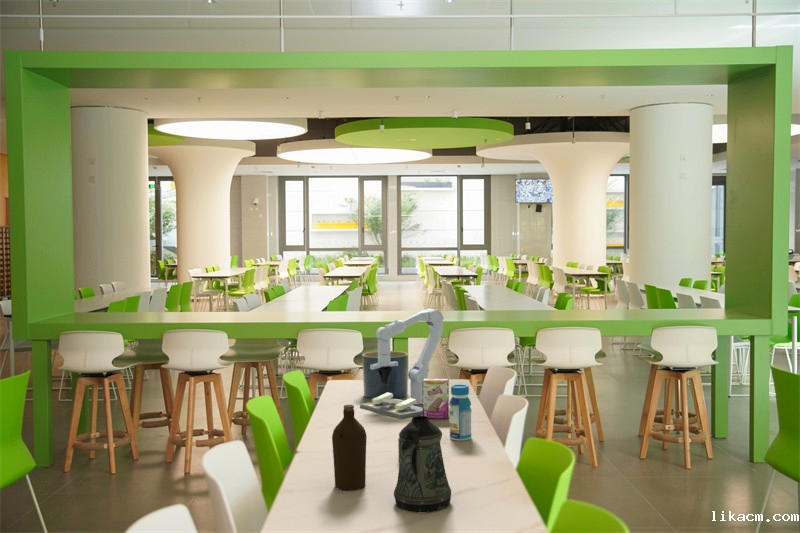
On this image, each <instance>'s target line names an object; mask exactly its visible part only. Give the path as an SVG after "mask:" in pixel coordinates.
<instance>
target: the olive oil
mask: <svg viewBox="0 0 800 533" xmlns="http://www.w3.org/2000/svg"><path fill="white" fill-rule="evenodd" d="M354 408H355V406H354V405H353V404H345V405H343V410H342V414H343V416H342V419H341V420H340V422H339V423H337V425H336V426H335V427H334V429H333V430H332V431H333V432H332V436H331V442H332V454H333V455H332V456H333V471H334V486H335V489H337V488H338V490H340V489H341V491H358V490H361V489H363V488H365V487H366V479H367V478H366V477H367V476H366V473H367V471H366V469H367V468H366V467H367V466H366V463H367V437H368V436H367V432H366V429H365V427H364V426H363V425H362V424H361V422H359V421H358V420H357V419H356V417H355V409H354ZM357 489H358V490H357Z"/></svg>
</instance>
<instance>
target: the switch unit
mask: <svg viewBox="0 0 800 533" xmlns="http://www.w3.org/2000/svg"><path fill="white" fill-rule="evenodd" d="M395 405H396V404H395V403H387V402H382V403H380V404H374V403H373V402H372V401H370V402H365V403H359V408H362V409H365V410H369V411H372V412H376V413H379V414H381V415H385V416H386V415H387V416H391V417H394V418H398V419H400V420H401V419H407V418H410V417H411V418H413V417H415V416H423V406H419V405H418V406H417V405H415V404H413V405H411V406H409V407H407V408H405V409H403V410H398V409H395Z"/></svg>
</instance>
